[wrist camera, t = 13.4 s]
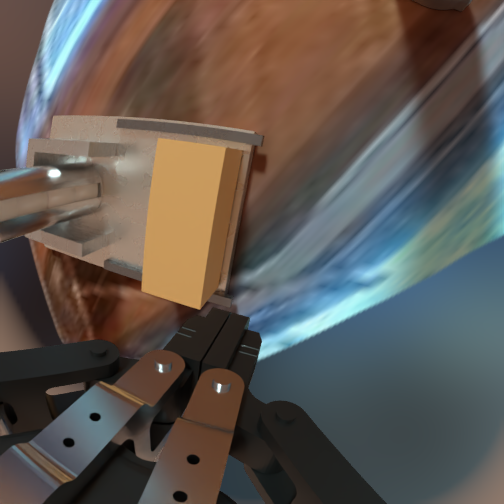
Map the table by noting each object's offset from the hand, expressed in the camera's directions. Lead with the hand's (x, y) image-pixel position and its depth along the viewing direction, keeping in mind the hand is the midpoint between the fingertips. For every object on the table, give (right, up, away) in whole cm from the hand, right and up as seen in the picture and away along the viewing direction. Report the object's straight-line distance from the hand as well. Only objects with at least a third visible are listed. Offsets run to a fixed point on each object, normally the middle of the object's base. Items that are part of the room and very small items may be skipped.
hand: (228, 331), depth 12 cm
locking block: (-4, +7, +19) cm, 20 cm away
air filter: (-19, +11, +21) cm, 31 cm away
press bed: (-13, +10, +22) cm, 27 cm away
